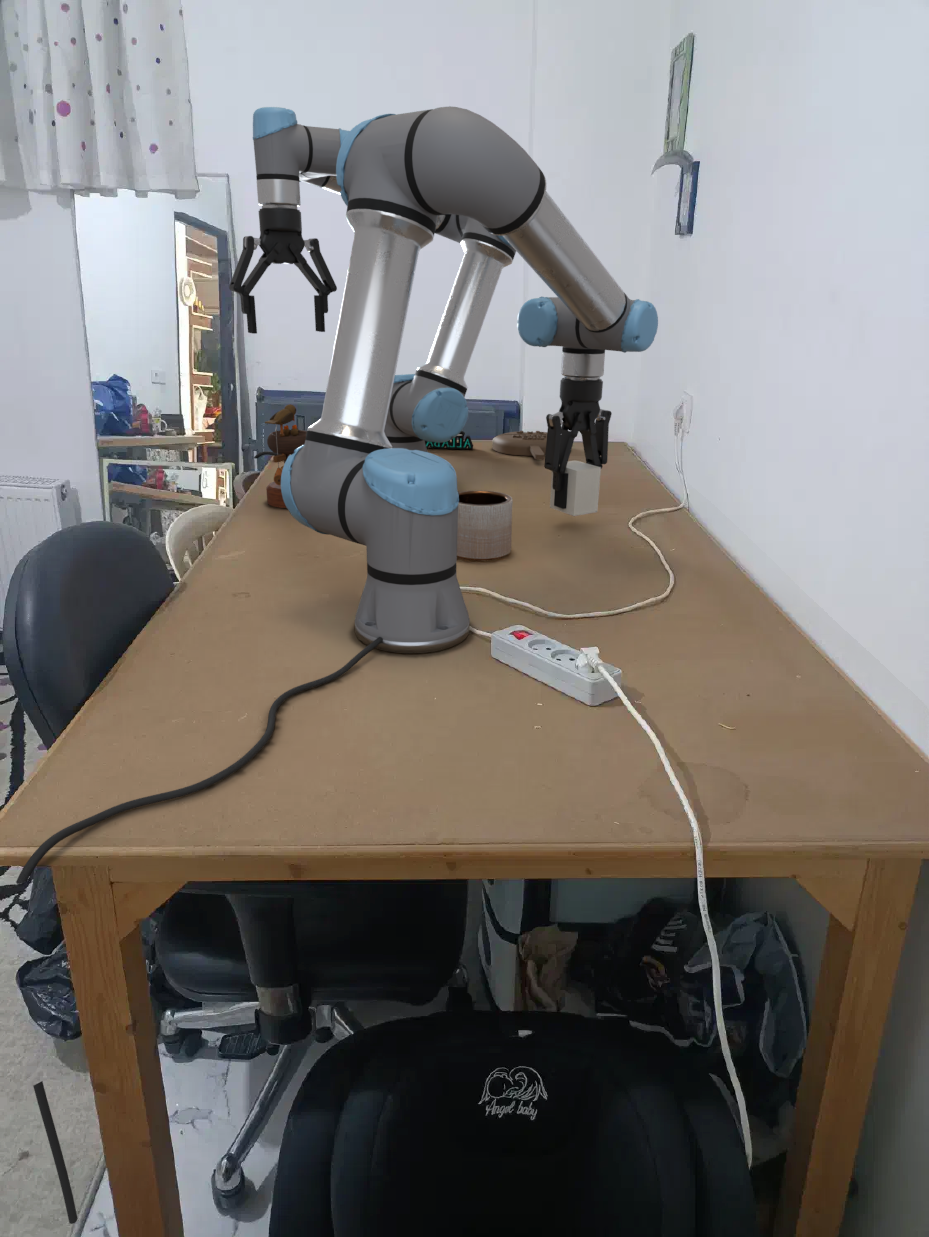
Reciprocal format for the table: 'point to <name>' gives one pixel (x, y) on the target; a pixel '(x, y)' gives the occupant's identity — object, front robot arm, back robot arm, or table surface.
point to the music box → (282, 449)
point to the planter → (484, 525)
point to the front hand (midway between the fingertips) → (573, 504)
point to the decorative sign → (453, 443)
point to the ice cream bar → (521, 443)
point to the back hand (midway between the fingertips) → (287, 332)
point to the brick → (580, 489)
